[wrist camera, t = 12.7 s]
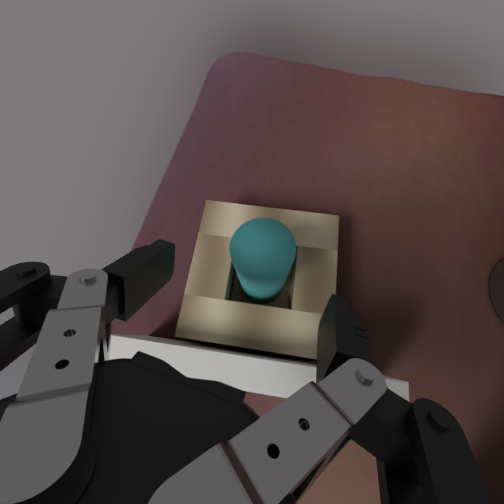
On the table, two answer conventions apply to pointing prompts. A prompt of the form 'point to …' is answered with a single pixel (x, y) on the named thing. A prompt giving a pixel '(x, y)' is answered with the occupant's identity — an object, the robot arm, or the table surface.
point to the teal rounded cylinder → (262, 258)
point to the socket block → (233, 297)
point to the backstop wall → (231, 365)
